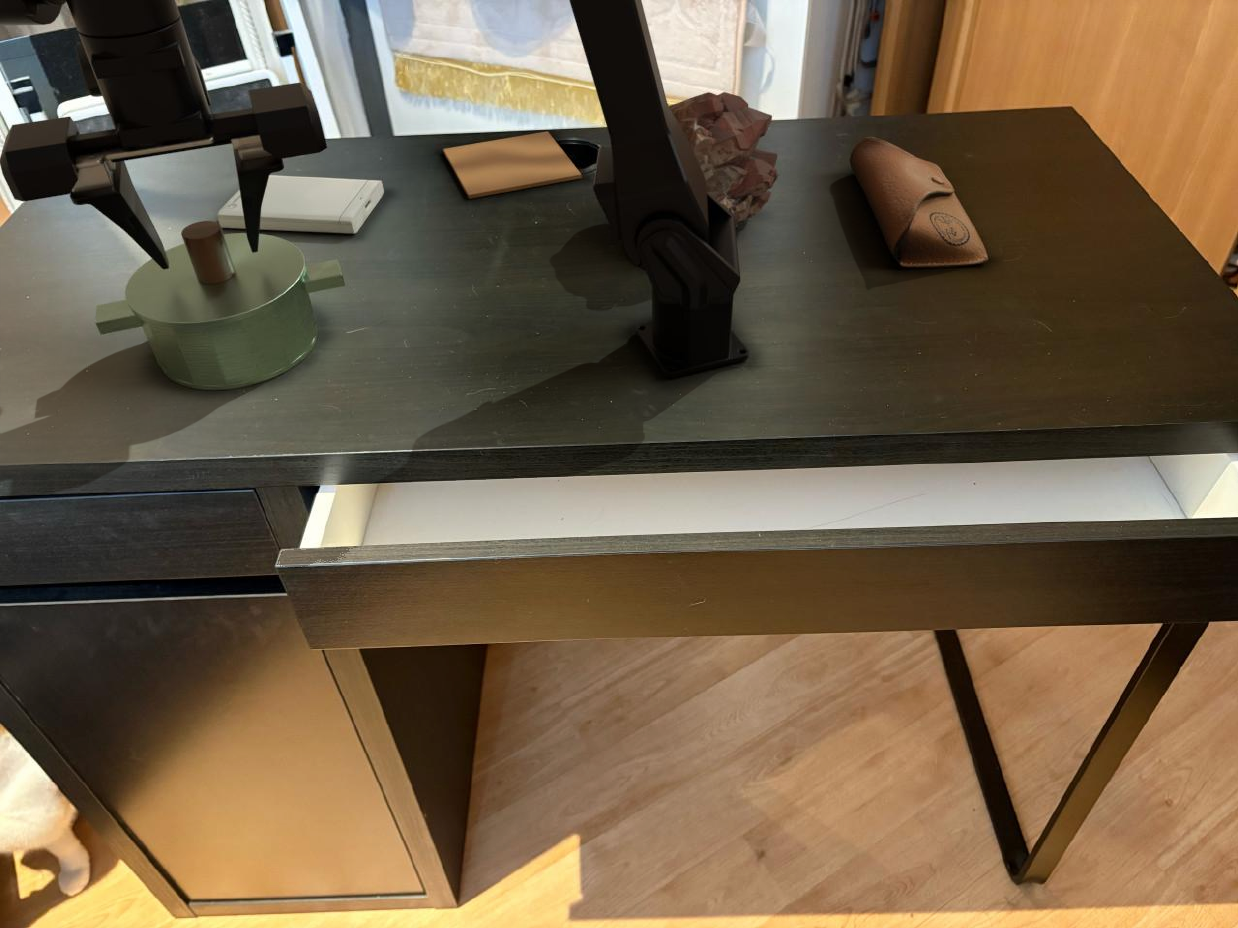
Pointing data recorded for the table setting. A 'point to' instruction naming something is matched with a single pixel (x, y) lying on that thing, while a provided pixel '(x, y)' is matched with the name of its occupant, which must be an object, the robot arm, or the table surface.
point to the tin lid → (215, 279)
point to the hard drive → (309, 204)
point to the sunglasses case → (915, 208)
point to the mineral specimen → (729, 150)
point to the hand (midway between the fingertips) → (211, 258)
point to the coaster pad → (510, 164)
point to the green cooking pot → (233, 338)
